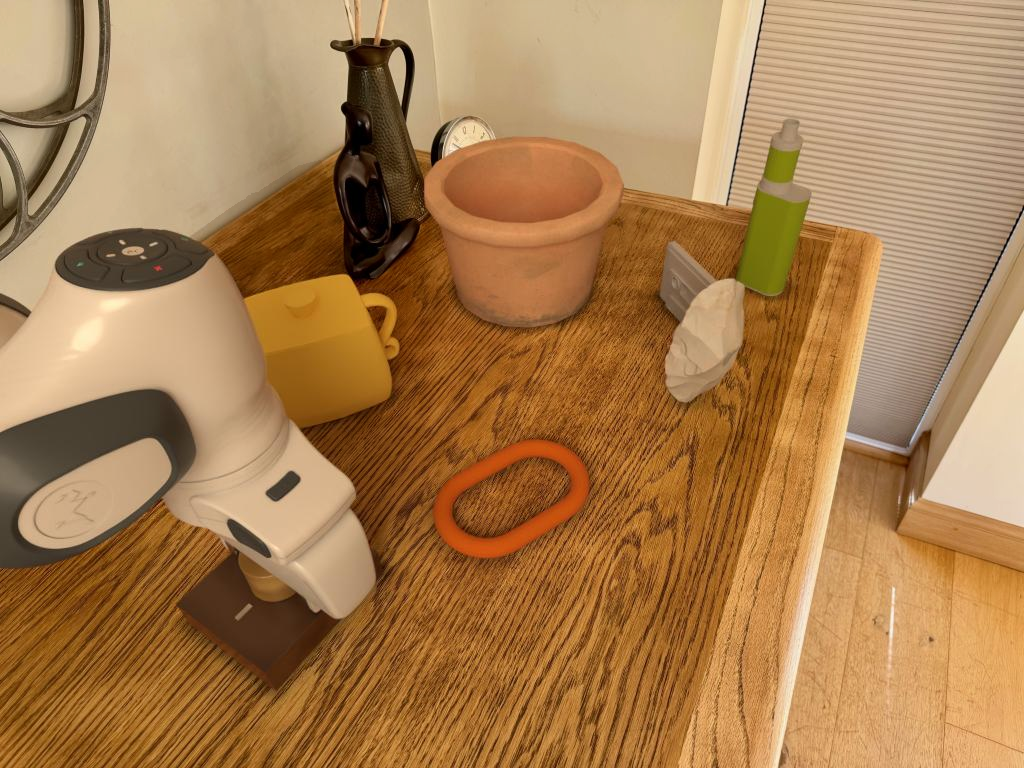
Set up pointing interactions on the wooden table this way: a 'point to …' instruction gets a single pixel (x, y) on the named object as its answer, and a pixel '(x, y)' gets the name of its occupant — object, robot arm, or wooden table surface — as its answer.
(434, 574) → the wooden table surface
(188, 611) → the dimmer panel
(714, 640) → the wooden table surface
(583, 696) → the wooden table surface
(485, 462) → the orange oval ring
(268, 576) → the dimmer knob
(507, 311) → the pottery
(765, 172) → the vape
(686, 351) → the stone
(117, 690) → the wooden table surface
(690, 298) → the cassette
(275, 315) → the teapot
